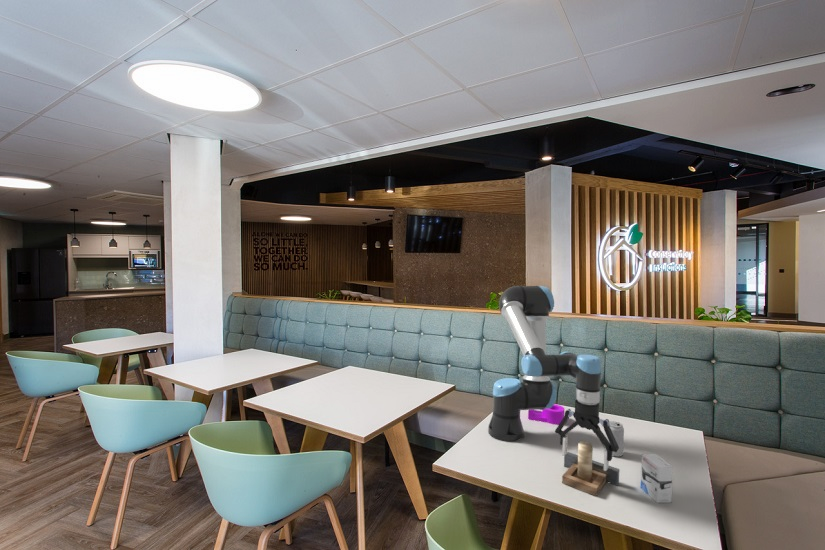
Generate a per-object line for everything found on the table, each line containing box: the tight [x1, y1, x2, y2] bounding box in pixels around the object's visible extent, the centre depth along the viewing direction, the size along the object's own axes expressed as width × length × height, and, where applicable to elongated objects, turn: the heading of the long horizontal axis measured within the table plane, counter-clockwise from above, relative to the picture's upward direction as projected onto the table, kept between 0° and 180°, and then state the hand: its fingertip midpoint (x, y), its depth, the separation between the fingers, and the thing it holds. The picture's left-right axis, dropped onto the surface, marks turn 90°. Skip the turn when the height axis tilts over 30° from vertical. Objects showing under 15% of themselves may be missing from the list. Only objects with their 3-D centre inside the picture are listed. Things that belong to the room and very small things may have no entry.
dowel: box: [577, 441, 594, 483], centre depth 134 cm, size 4×4×12 cm
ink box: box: [640, 453, 674, 504], centre depth 127 cm, size 8×5×12 cm, turn 5°
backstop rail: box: [563, 451, 620, 487], centre depth 139 cm, size 18×2×5 cm, turn 49°
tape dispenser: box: [527, 403, 566, 426], centre depth 187 cm, size 16×10×6 cm, turn 68°
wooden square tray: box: [561, 463, 607, 497], centre depth 134 cm, size 11×11×2 cm
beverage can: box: [604, 420, 625, 458], centre depth 154 cm, size 6×6×12 cm
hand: (584, 461), depth 134 cm, fingers open, 13 cm apart
